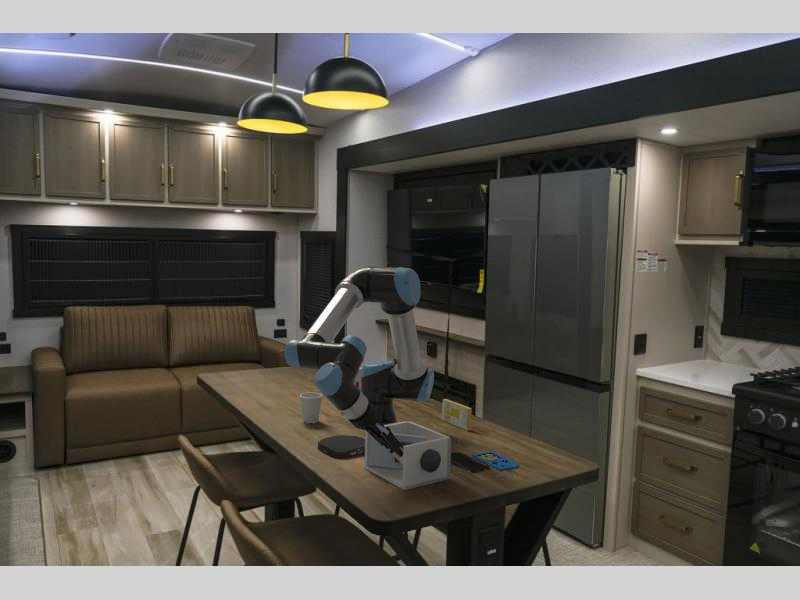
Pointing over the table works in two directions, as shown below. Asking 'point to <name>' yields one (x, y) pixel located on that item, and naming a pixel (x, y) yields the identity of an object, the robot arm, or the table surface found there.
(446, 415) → the candy box
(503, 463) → the handheld gaming device
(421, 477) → the open box
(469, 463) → the phone
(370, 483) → the table surface
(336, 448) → the media streaming box
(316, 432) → the table surface
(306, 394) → the dixie cup
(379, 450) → the side door
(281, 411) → the table surface
